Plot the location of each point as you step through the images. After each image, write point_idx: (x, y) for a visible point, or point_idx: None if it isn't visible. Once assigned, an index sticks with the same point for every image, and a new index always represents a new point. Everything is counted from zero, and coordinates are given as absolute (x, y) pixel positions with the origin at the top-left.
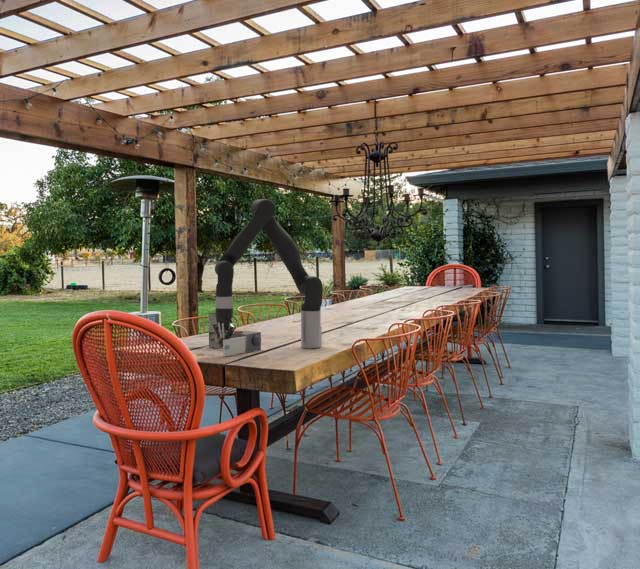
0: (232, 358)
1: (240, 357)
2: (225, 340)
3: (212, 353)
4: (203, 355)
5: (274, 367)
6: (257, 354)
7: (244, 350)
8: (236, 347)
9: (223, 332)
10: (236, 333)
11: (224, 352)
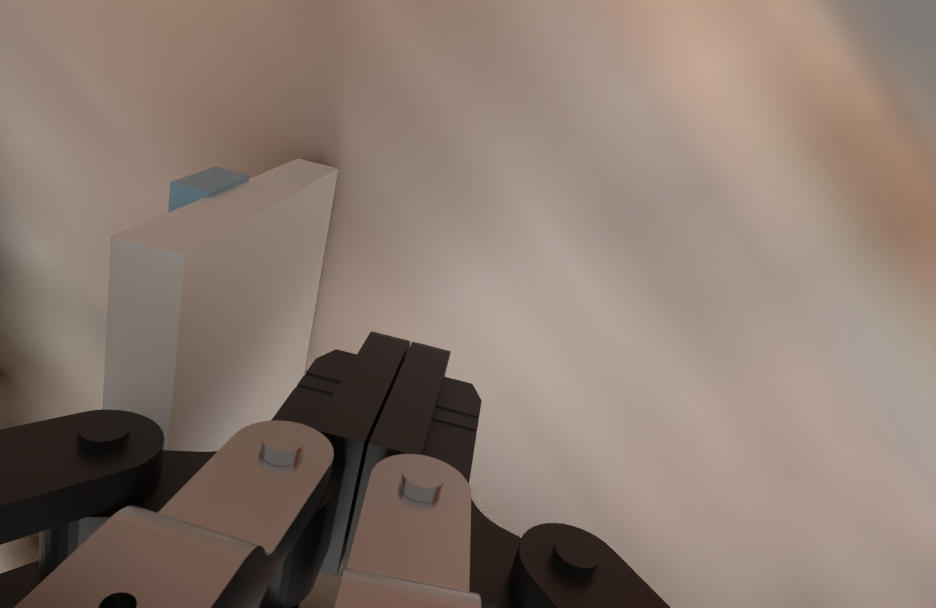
0: (77, 92)
1: (32, 237)
2: (124, 277)
3: (746, 379)
4: (812, 132)
5: None
6: (9, 543)
7: None
8: None
9: (138, 519)
10: None
11: (274, 169)
